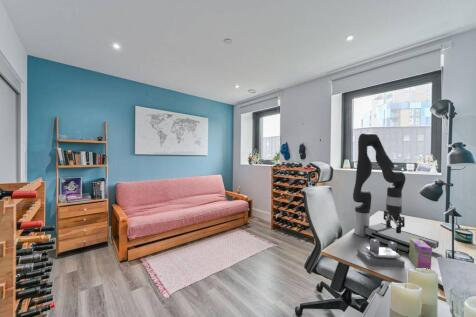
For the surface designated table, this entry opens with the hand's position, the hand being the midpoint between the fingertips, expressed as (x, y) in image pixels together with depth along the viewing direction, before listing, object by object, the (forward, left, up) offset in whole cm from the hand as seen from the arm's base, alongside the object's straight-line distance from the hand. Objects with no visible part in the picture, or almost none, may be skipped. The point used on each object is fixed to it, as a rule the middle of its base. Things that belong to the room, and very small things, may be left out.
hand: (393, 230), depth 121 cm
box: (+12, +6, -14) cm, 19 cm away
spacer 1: (+10, -17, -8) cm, 21 cm away
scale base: (+10, -14, -14) cm, 22 cm away
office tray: (-11, +12, -14) cm, 22 cm away
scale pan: (+10, -12, -10) cm, 19 cm away
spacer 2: (0, 0, -14) cm, 14 cm away
